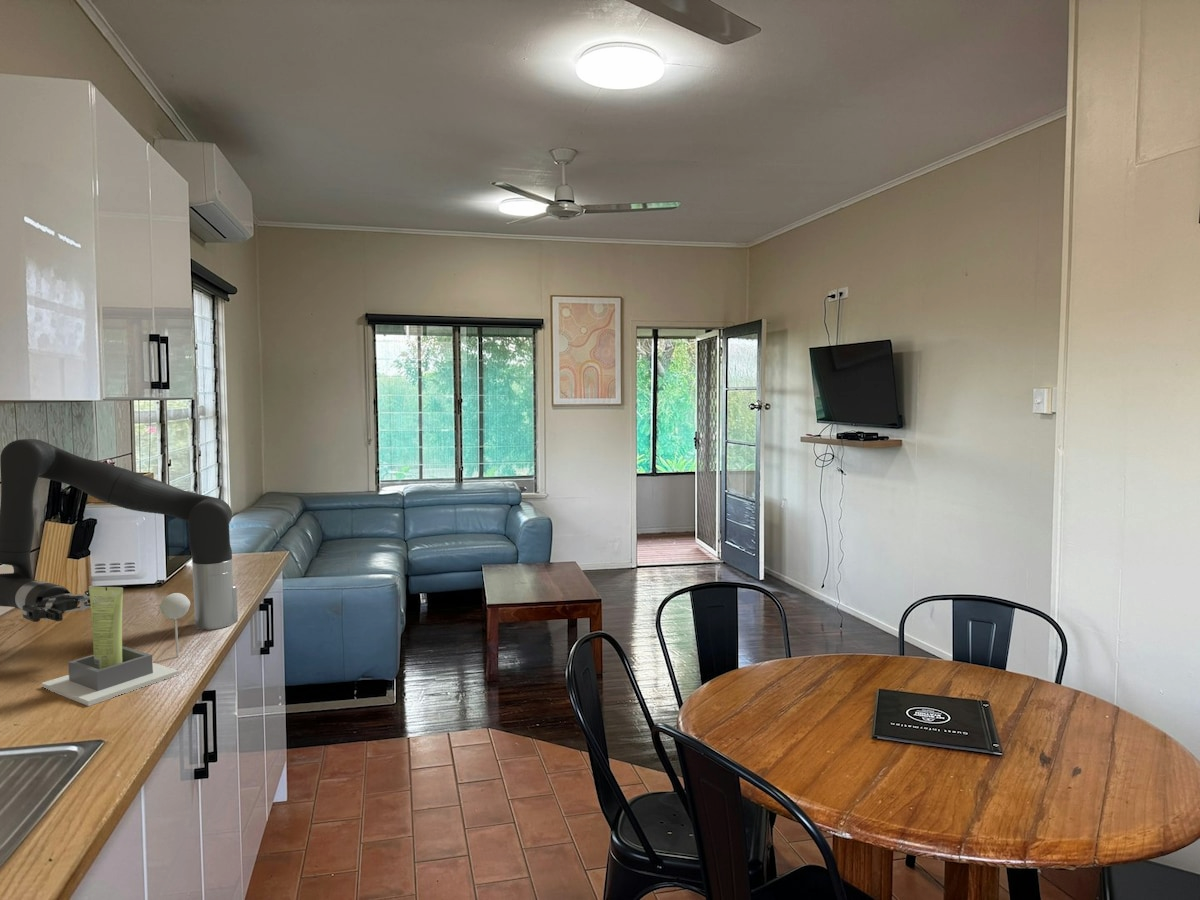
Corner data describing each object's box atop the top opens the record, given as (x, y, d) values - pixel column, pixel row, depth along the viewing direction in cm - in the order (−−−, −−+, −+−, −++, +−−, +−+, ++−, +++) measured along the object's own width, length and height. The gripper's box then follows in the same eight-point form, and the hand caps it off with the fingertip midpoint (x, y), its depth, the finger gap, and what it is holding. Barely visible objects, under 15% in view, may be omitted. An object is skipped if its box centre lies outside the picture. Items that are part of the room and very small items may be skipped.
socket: (131, 659, 169) (130, 638, 169) (178, 675, 161) (177, 652, 160) (41, 687, 154) (40, 664, 153) (88, 706, 145) (87, 681, 144)
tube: (125, 669, 161) (120, 581, 159) (127, 677, 157) (123, 587, 155) (93, 675, 157) (88, 586, 156) (95, 683, 153) (90, 591, 152)
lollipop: (161, 663, 167) (158, 598, 166) (162, 654, 173) (159, 591, 171) (192, 658, 170) (189, 595, 169) (192, 650, 175) (190, 588, 174)
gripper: (5, 591, 162) (44, 603, 155) (75, 575, 175) (115, 586, 167) (7, 624, 163) (46, 637, 156) (77, 606, 176) (117, 618, 168)
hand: (82, 610), depth 162 cm, fingers open, 8 cm apart
